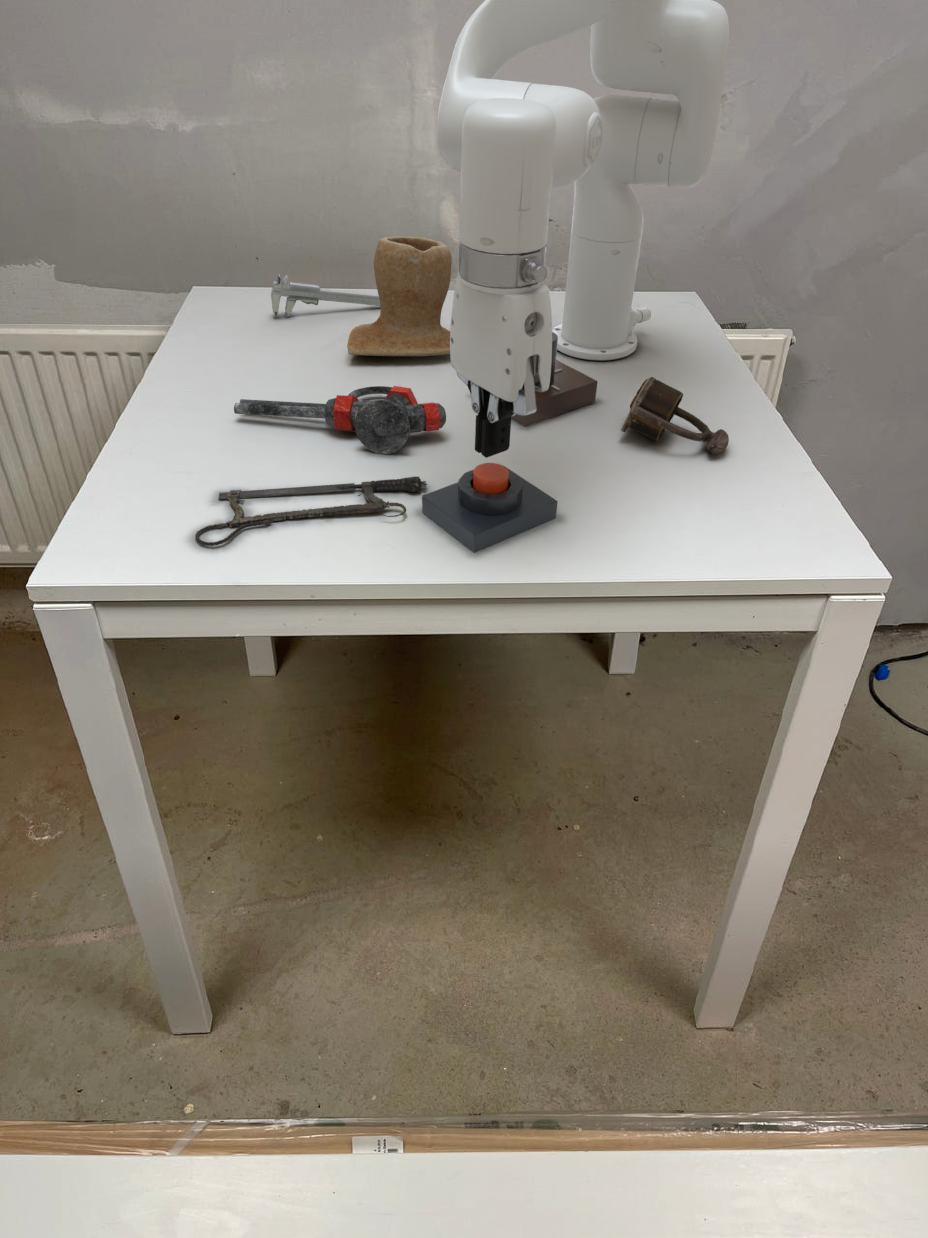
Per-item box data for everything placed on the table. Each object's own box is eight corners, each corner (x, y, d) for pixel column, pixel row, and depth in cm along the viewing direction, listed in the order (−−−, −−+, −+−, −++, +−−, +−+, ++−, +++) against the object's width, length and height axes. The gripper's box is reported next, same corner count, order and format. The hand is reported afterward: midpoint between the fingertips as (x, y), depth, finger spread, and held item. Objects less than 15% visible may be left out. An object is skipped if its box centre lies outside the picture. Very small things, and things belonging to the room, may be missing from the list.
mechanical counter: (660, 368, 112) (612, 373, 105) (751, 393, 104) (706, 400, 98) (648, 425, 115) (601, 433, 108) (735, 453, 107) (691, 464, 101)
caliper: (274, 319, 135) (269, 276, 131) (273, 316, 136) (268, 274, 132) (405, 306, 140) (404, 265, 136) (403, 303, 141) (402, 263, 137)
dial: (561, 379, 114) (565, 335, 110) (535, 388, 112) (538, 343, 108) (538, 367, 117) (541, 323, 113) (512, 375, 115) (515, 331, 111)
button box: (502, 482, 100) (504, 450, 98) (556, 518, 95) (559, 485, 92) (421, 513, 95) (421, 480, 92) (474, 553, 90) (475, 519, 87)
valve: (460, 418, 116) (437, 459, 103) (268, 406, 119) (223, 444, 107) (460, 368, 112) (437, 405, 100) (263, 358, 116) (216, 391, 103)
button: (493, 473, 95) (493, 459, 93) (514, 488, 92) (516, 473, 91) (466, 484, 93) (466, 469, 92) (487, 499, 91) (488, 484, 90)
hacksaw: (426, 484, 99) (426, 472, 98) (435, 536, 92) (435, 524, 91) (203, 494, 97) (201, 482, 96) (193, 549, 89) (191, 536, 88)
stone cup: (453, 332, 133) (455, 225, 123) (458, 365, 124) (461, 254, 114) (350, 332, 132) (344, 225, 122) (347, 366, 123) (341, 253, 113)
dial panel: (544, 374, 122) (546, 352, 120) (595, 402, 116) (598, 379, 114) (474, 397, 116) (475, 374, 114) (524, 427, 110) (526, 403, 108)
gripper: (592, 279, 75) (570, 471, 87) (482, 234, 84) (475, 412, 96) (524, 297, 72) (510, 494, 83) (417, 247, 81) (418, 431, 93)
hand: (491, 450), depth 90 cm, fingers closed
